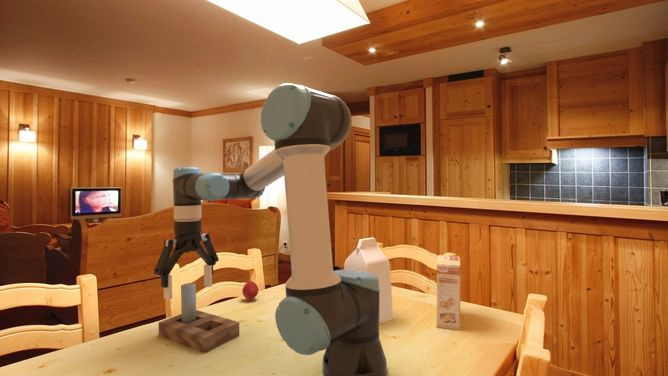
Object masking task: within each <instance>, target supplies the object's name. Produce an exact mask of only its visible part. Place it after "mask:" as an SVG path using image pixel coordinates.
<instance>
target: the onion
mask: <svg viewBox="0 0 668 376" xmlns="http://www.w3.org/2000/svg"><path fill="white" fill-rule="evenodd" d="M241 291H242V295H243V297H244V298H246V299H247V300H248V301H250V302H251V301H253V300H254V299H255V298H256V297H257V296H258V294H259V287H258V285H257V284H256V282H254V281H253V279H249V280H248V282H246V283H245V284H244V285H243V288H242V290H241Z"/></svg>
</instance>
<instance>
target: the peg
mask: <svg viewBox="0 0 668 376" xmlns="http://www.w3.org/2000/svg"><path fill="white" fill-rule="evenodd" d="M180 291H181V292H180V293H181V294H180V295H181V297H180V299H181V301H180V302H181V304H180V305H181V307H180V309H181V313H180V314H181V317H182V323H184V324H189V323H191V322H194V321H196V310H197V284H196V283H185V284H181V285H180Z"/></svg>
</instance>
